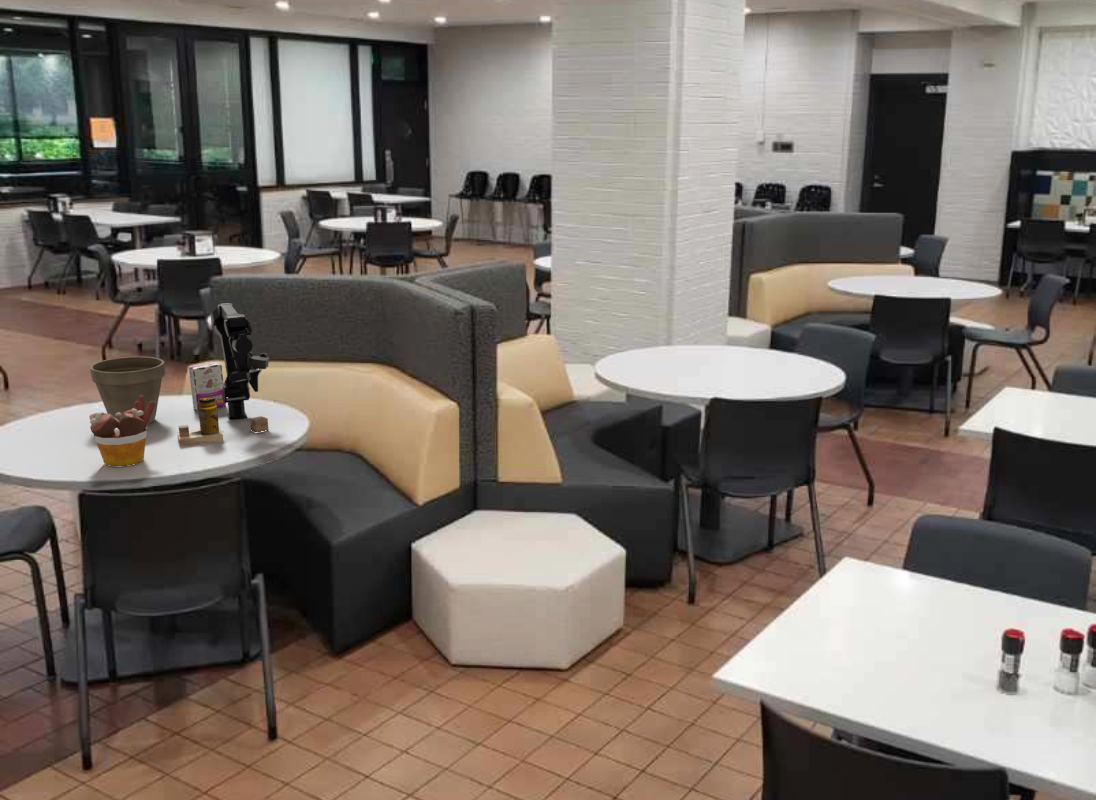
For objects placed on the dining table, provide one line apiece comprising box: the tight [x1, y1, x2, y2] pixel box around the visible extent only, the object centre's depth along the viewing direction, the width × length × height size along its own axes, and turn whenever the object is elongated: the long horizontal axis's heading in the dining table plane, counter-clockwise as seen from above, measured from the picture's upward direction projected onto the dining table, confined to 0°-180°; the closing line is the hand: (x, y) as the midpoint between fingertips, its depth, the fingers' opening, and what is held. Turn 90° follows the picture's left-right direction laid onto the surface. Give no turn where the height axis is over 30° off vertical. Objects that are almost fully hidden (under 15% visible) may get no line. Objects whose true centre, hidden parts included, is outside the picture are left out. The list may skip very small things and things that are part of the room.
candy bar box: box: [188, 362, 227, 412], centre depth 406 cm, size 11×5×16 cm, turn 130°
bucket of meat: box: [89, 395, 155, 467], centre depth 342 cm, size 20×16×20 cm
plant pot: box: [89, 356, 166, 424], centre depth 387 cm, size 25×25×22 cm
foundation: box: [177, 424, 224, 447], centre depth 366 cm, size 9×14×6 cm, turn 112°
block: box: [249, 415, 269, 433], centre depth 376 cm, size 4×4×4 cm
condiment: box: [191, 397, 224, 437], centre depth 364 cm, size 7×8×12 cm
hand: (252, 394), depth 377 cm, fingers open, 9 cm apart
